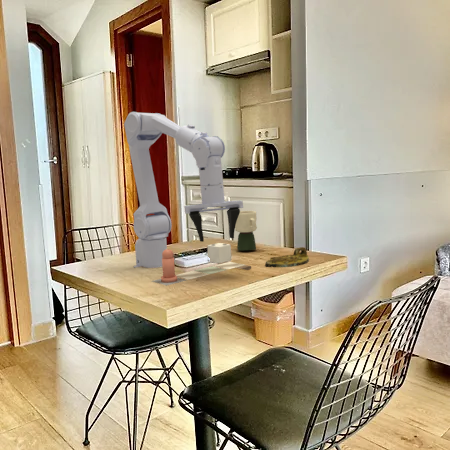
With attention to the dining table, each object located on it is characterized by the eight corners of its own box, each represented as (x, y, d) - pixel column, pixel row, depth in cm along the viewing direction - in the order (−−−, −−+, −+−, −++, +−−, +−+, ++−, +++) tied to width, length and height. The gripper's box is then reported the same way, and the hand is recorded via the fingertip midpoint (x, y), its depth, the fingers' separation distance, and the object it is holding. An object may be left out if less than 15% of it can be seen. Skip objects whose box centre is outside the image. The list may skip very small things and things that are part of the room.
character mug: (264, 252, 155) (263, 212, 153) (245, 254, 152) (244, 214, 150) (247, 247, 165) (246, 209, 163) (229, 249, 161) (227, 211, 160)
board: (146, 284, 121) (146, 280, 120) (226, 264, 140) (226, 260, 140) (170, 290, 113) (170, 286, 113) (251, 268, 132) (251, 265, 132)
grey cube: (208, 261, 145) (207, 245, 144) (220, 258, 148) (219, 242, 147) (219, 263, 141) (218, 246, 140) (231, 260, 145) (230, 244, 144)
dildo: (158, 280, 119) (156, 249, 118) (170, 277, 122) (169, 247, 121) (167, 283, 116) (165, 251, 115) (180, 280, 119) (178, 248, 118)
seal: (277, 274, 131) (317, 265, 139) (278, 258, 130) (318, 250, 138) (257, 265, 138) (296, 257, 146) (257, 249, 137) (297, 242, 145)
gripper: (184, 188, 113) (190, 244, 115) (243, 182, 116) (248, 237, 117) (181, 188, 120) (186, 241, 122) (237, 182, 123) (242, 235, 124)
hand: (216, 239), depth 120 cm, fingers open, 7 cm apart
